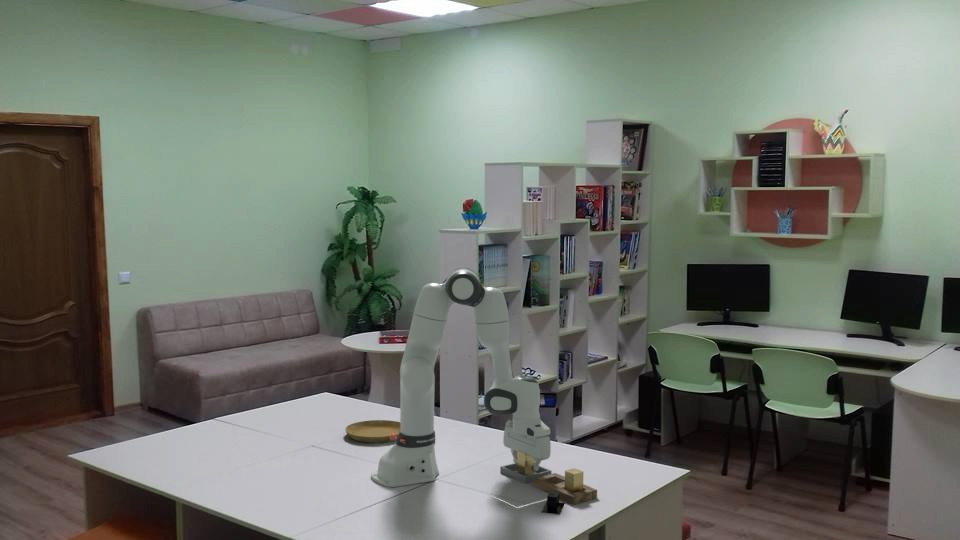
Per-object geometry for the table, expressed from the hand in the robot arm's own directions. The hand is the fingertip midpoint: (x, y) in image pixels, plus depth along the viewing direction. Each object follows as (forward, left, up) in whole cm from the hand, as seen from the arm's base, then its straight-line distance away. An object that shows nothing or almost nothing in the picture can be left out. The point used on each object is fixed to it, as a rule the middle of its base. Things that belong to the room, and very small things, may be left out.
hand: (525, 466), depth 274 cm
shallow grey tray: (0, 0, -3) cm, 3 cm away
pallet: (0, -18, -3) cm, 19 cm away
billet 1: (0, 0, -3) cm, 3 cm away
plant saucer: (-17, +69, -4) cm, 71 cm away
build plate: (-11, -26, -4) cm, 29 cm away
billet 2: (0, -23, -3) cm, 23 cm away
